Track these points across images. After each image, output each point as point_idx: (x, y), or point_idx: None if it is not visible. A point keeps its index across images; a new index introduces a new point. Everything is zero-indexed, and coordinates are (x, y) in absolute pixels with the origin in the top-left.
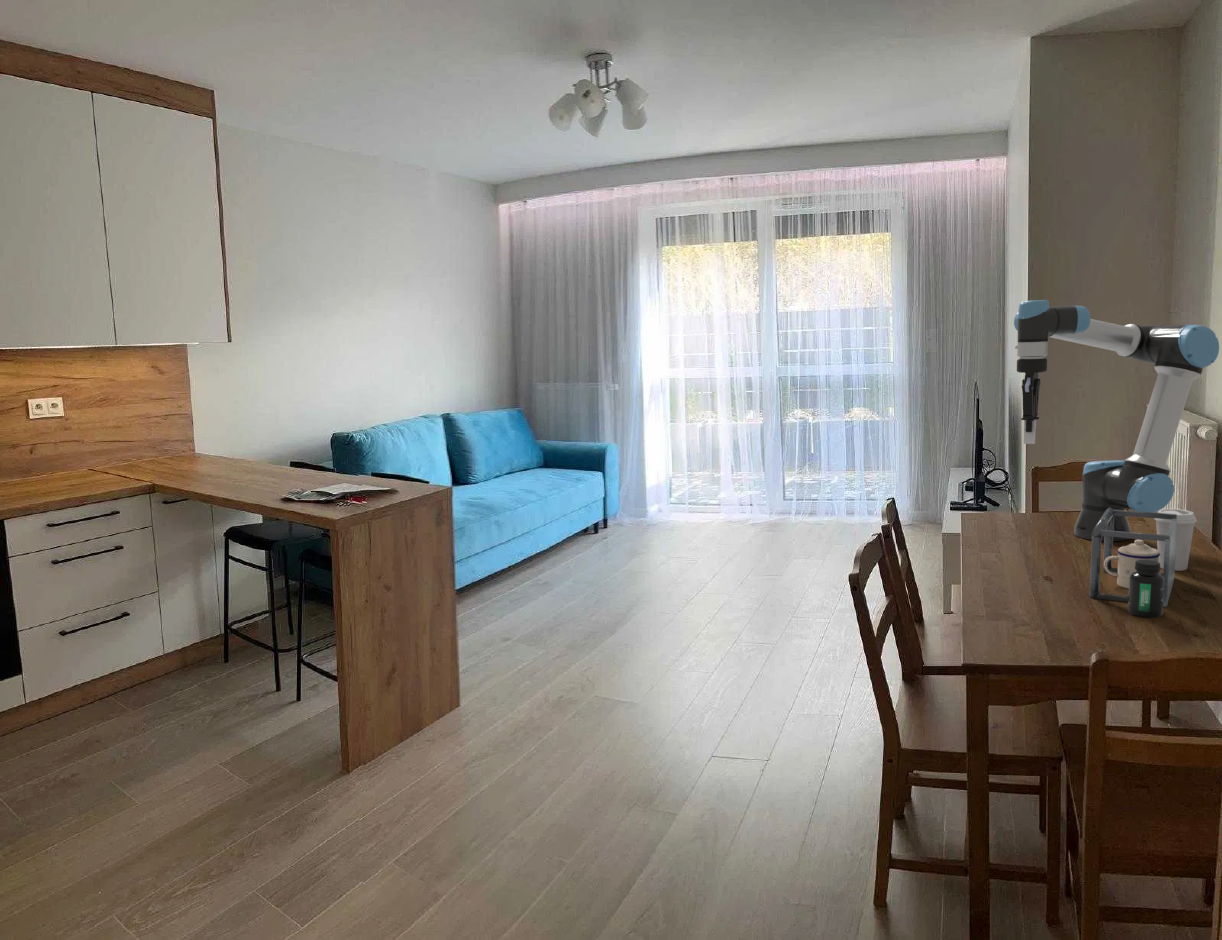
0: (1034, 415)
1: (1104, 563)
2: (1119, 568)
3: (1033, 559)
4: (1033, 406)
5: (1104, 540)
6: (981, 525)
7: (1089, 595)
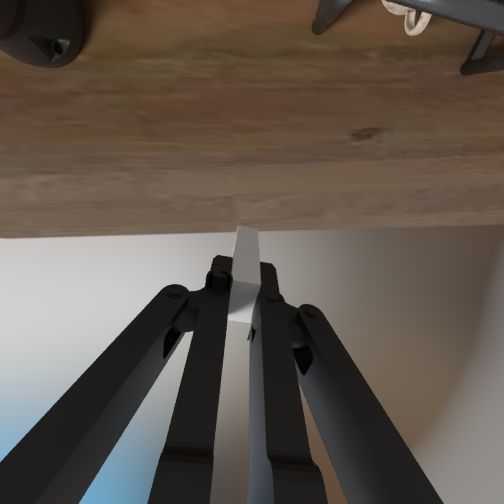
0: (262, 306)
1: (419, 33)
2: None
3: (259, 150)
4: (292, 363)
5: (335, 16)
6: (71, 221)
7: (466, 75)
